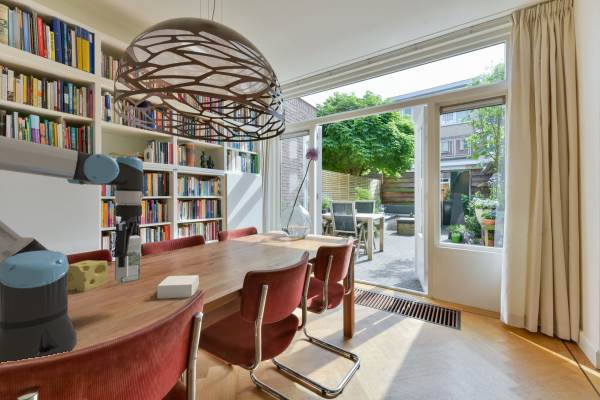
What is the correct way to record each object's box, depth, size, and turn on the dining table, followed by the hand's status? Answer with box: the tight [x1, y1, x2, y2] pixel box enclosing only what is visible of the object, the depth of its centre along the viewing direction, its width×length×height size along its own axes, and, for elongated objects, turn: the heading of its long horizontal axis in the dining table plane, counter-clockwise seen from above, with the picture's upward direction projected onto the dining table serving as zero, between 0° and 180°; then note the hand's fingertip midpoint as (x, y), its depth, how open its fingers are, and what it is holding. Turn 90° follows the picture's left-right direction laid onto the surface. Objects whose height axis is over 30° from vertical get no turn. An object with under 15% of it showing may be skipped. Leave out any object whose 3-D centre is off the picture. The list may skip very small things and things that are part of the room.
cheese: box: [68, 259, 109, 293], centre depth 110 cm, size 10×11×10 cm
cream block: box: [157, 274, 200, 299], centre depth 106 cm, size 12×12×5 cm
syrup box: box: [114, 235, 142, 284], centre depth 89 cm, size 6×6×14 cm
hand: (127, 273), depth 89 cm, fingers closed on syrup box, 8 cm apart
